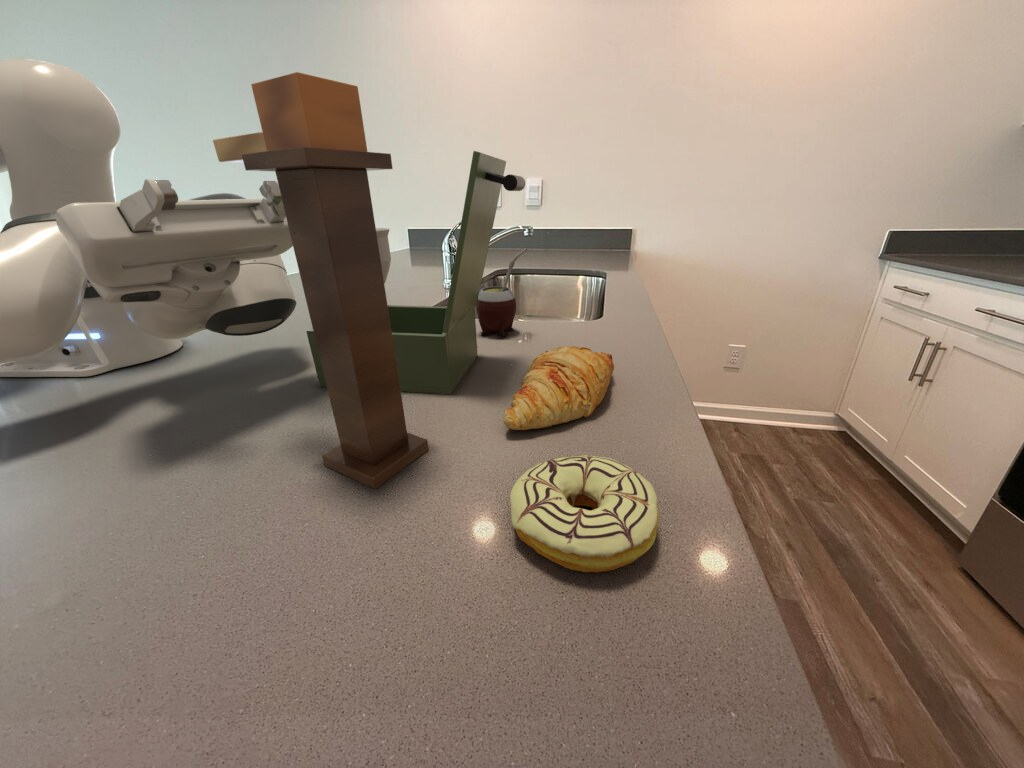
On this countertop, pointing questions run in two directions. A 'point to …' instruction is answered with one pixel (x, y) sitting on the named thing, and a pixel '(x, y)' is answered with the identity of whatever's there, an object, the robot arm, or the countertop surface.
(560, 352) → the croissant
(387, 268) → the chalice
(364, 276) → the pedestal stand
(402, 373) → the bin
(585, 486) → the decorated donut
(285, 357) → the countertop surface
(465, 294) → the bin lid
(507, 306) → the mate gourd
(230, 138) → the brown piece
